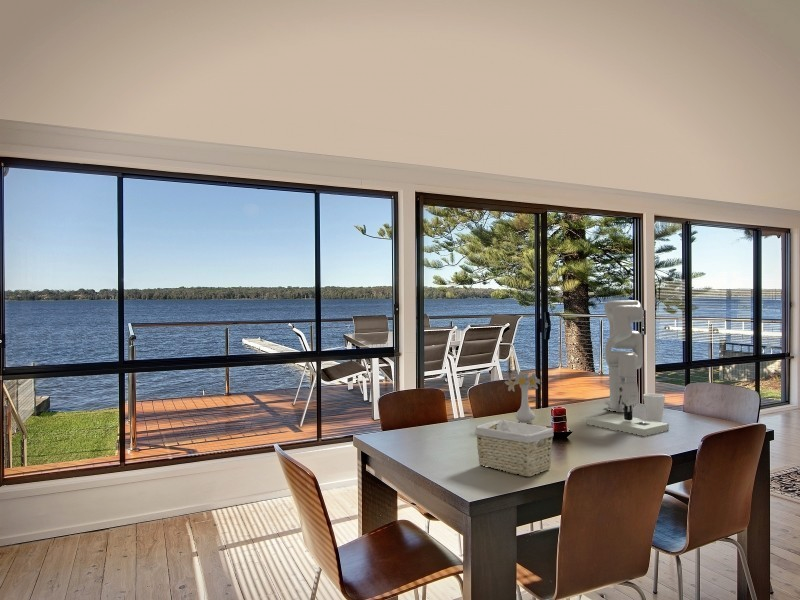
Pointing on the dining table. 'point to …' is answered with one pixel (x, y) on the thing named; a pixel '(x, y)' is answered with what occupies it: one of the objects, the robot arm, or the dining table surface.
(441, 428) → the dining table surface
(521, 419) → the flower vase
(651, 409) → the foam cup
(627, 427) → the hole board
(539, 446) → the storage basket
